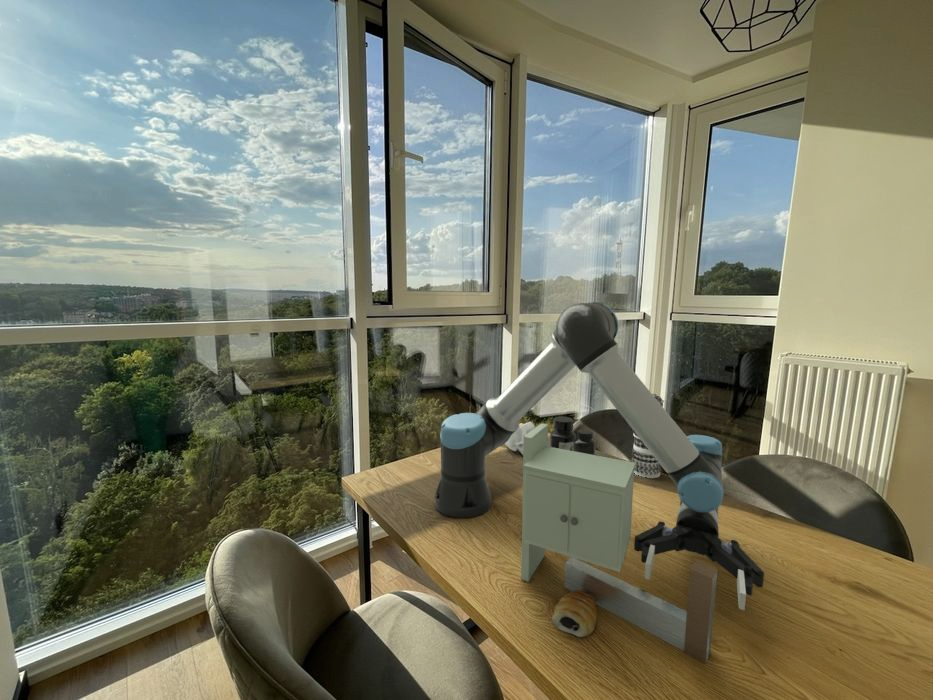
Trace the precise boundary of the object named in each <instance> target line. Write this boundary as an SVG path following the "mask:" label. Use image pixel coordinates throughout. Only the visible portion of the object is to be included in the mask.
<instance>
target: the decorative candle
mask: <svg viewBox="0 0 933 700" xmlns="http://www.w3.org/2000/svg"><path fill="white" fill-rule="evenodd" d="M652 395H653V396H654V397H655V398H656V400H657V401H658V402H659V403H660V404H661V406H662V407H663V408H664V402H665V400H664V399H662V397H661V396H660V395H658V394H656V393H652ZM632 433H633V434H632V435H633V436H634V442H633V448H632V450H631V452H632V454H631V457H632V458H631V462H634V463H636V467H635V470H634V473H635V474H634V475H635V476H638V475H639V476H638V477H641V476H642V477H641V478H645V477H647V478H646V479H657V478H660V476H661V471H662V470H661V467H662V466H661V465H660V463H659V462H658V461H657V460H656V458H655V457H654V456H653V454H652V453H651V452H650V451H649V449H648V448H647V447H646V446H645V444H644V443H643V442H642V441H641V439H640V438H639V437H638V435H637V434H636V433H635V432H634V430H633V429H632Z"/></svg>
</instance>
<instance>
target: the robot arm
mask: <svg viewBox="0 0 933 700" xmlns="http://www.w3.org/2000/svg"><path fill="white" fill-rule="evenodd" d="M618 331H619V320H618V317H617V315H616V313H615V312H614V310H613V309H612V308H611V307H609V306H608V305H605V304H603V303H601V302H597V301H591V302H579V303H578V302H577V303H575V304H572V305H569V306H568V307H567V308H565V309H563V311H562V312H561V314H560V315H559V317H558V319H557V322H556V326H555V329H554V331H552V333H551V335H552V336H551V337H552V339H551V340H552V341H551V342H549V344H548V345H547V346H546V347H545V348H544V349H543V350H542V351H541V353H539V354H538V355H537V357H535V359H534V360H533V361H532V362H531V363H530V364H529V365H528V366H527V367H526V368H525V369H524V370H523V371H522V372H521V373H520V374H519V375H518V376H516V378H515V379H514V380H513V382H512V383H510V384H509V385H508V386H507V387H506V389H504V391H502V393H501V394H499V396H497V398H495V397H491V398H490V397H489V399H488V400H487V401H486V402H485V403H484V404H483V405H482V406H481V407H480V408H479V409H478V410H477V411H476V412H475V413H473V412H461V413H459V414H452V415H450V416H448V417H446V418H445V419H444V420H443V421H442V423H441V427H440V435H439V439H440V479H439V481H438V485H437V488H436V491H435V494H434V507H435V509H436V510H437V511H438V512H439V513H440V514H443V515H445V516H446V517H448V516H449V517H452V518H458V519H466V518H468V519H469V518H474V517H478V516H481V515H483V514H486V513H487V512H488V511H489V510H490V508H492V494H491V491H490V488H489V484H488V482H487V478H486V457H487V456H488V455H489V454H491V453H492V452H494V451H495V450H497V449H498V448H500V447H501V446H503V445H506V444H505V443H506V442H507V441H508V440H509V438H510V437H511V435H512V434H513V433H514V432H515V431H516V430H517V429H518V427H520V419H522V418H523V417H524V416H525V415H526V414H527V413H528V412H529V411H530V410H531V409H532V408H533V407H534V406H536V405H537V404H538V403H539V402H540V401H541V400H542V399H543V398H544V397H545V396H546V395H547V394H548V393H549V392H550V391H552V389H553V388H554V387H555V386H556V385H557V384H558V383H559V382H560V381H561V380H563V378H564V377H565V376H567V375H568V373H570V372H571V371H572V370H573V369H574V368H575V367H576V368H578V370H579V371H580V373H585V374H588V375H589V376H590V377H591V379H592V380H593V381H594V383H595V384H596V385H597V386H598V387H599V388H600V390H601V391H602V393H603V394H604V395H605V396H606V398H608V400H609V401H610V403H611V404H612V405H613V406H614V407H615V409H616V410H617V411H618V413H619V414H620V416H622V418H623V419H624V421H625V422H626V423H627V424H628V426H629V427H630V428H631V429H632V431H633V430H634V432H635V433H636V434H637V435H638V437H639V438H640V439H641V441H642V442H643V443H644V444H645V446H646V447H647V448H648V449H649V451H650V452H651V453H652V454H653V456H654V457H655V458H656V460H657V461H658V462H659V463H660V465H661V467H662V469H663V470H664V471H665V472H666V474H668V476H669V478H671V480H672V482H674V485H676V489H677V494H678V496H679V507H678V511H677V518H676V523H675V526H674V527H673V528H672V527H668V526H666V523H665V522H664V521H658V522H657V524H656V525H655V526H652V527H651V528H649V529H647V530H645V531H643V532H641V533H639V534H637V535H635V536H634V543H633V550H634V551H635V552H641V556H640V561H641V563H644V564H645V566H644V579H646V580H650V578H651V574H652V571H653V566H654V562H655V561H654V560H655V555H659V554H663V553H668V552H672V551H675V552H682V551H687V552H691V553H696V554H699V555H701V556H706V558H708V559H709V560H711V562H712V563H717V564H719V566H721V567H722V568H723V569H724V570H725V571H726V572H728V574H730V575H732V576H733V577H734V578H736V588H737V591H736V592H737V601H738V609H739V610H741V611H746V609H745V608H746V600H747V599H746V598H747V595H748V596H752V595H753V590H754V589H753V588H754V586H755V587H758V588H764V583H765V582H764V581H765V580H764V579H765V572H764V571H763V570H762V569H761V568H760V566H758V565H757V563H755V561H754V560H753V559H752V558H751V557H750V556H749V555H748V554H747V553H746V552H745V551H744V550H743V549H742V548H741V547H740V544H739V542H738V541H737V540H735V539H731V540H730V542H725V541H722V539H721V538H720V537H719V534H720V533H719V507H720V506H721V504H722V503H723V498H724V494H725V487H724V484H723V472H722V462H723V461H722V459H723V455H724V454H723V444H722V442H721V441H720V440H718V439H717V438H715V437H712V436H708V435H704V434H703V435H702V434H690V435H686V434H685V433H684V431H683V430H682V429H681V428H680V427H679V425H678V424H677V423H676V421H675V420H674V419H673V418H672V417H671V415H670V414H669V413H668V412H667V411H666V409H665V408H664V406H663V407H662V406H661V404H660V403H659V402H658V401H657V400H656V398H655V397H654V396H653V395H652V394H653V393H652V392H651V391H650V390H649V388H648V387H647V386H646V384H644V382H643V381H642V380H641V379H640V378H639V376H638V375H637V374H636V373H635V371H634V370H633V369H632V368H631V366H630V365H629V364H628V363H627V362H626V360H625V359H624V358H623V356H622V355H621V354H620V353H619V344H618V343H617V341H616V340H615V339H616V337H617V335H618Z"/></svg>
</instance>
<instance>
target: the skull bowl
mask: <svg viewBox="0 0 933 700" xmlns="http://www.w3.org/2000/svg"><path fill="white" fill-rule="evenodd" d="M534 428H536V426H535V425H534V423H533V422H532V421H529V422H526V423H524V424H522V425H519V427H518V429H517V430H516V431H515V432H514V433H513V434H512V435H511V437H510V438H509V440H508V441H507V442H506V443H505V444H504V445H506V447H507V448H508V449H509V450H511V451H513V452H517V451H520V453H521V455H522V456H523V447H524V436H525V435H526V434H528V433H529V432H530V431H532V430H533V429H534Z"/></svg>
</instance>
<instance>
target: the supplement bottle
mask: <svg viewBox="0 0 933 700" xmlns="http://www.w3.org/2000/svg"><path fill="white" fill-rule="evenodd" d="M593 435H594V433H593V431H592V430H588V429H578V430H577V432H576V439H575V440H574V448H573V451H575V452H580V453H586V454H591V455H596V446H597V445H596V442H595V440H594V439H593V438H594V436H593Z"/></svg>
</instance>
